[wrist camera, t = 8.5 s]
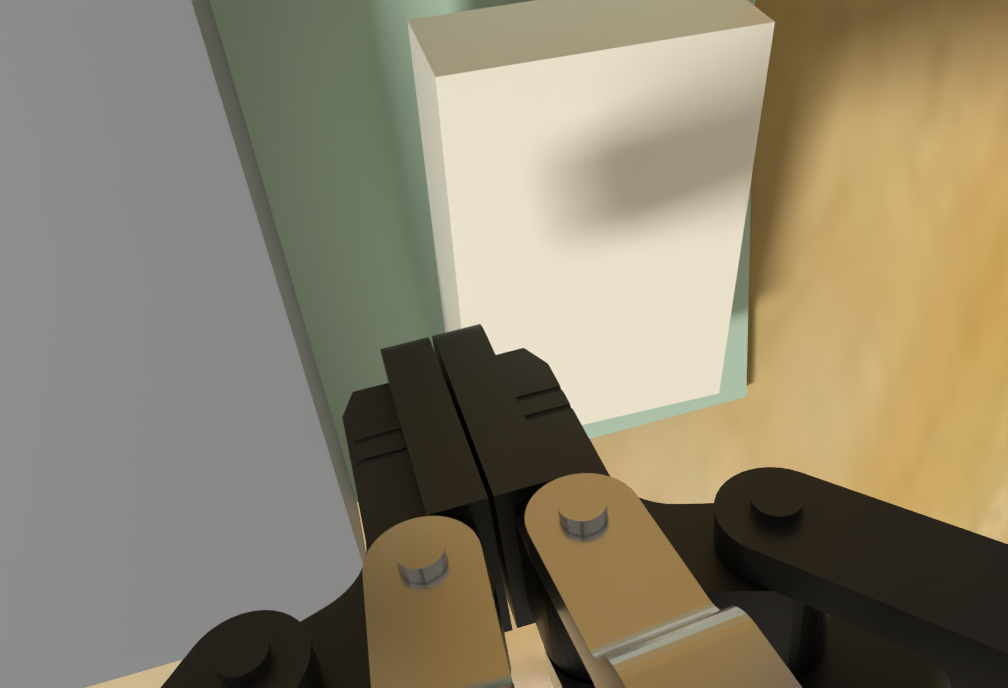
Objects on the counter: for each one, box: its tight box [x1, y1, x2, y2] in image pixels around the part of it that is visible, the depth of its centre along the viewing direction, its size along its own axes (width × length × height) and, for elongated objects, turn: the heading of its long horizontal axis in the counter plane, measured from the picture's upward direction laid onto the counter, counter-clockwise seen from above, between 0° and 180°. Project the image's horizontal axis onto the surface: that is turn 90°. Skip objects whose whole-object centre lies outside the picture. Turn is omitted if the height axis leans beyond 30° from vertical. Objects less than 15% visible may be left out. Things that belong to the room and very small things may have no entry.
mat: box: [210, 0, 756, 502], centre depth 20 cm, size 16×11×1 cm
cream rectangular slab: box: [407, 0, 775, 425], centre depth 20 cm, size 9×6×4 cm, turn 5°
